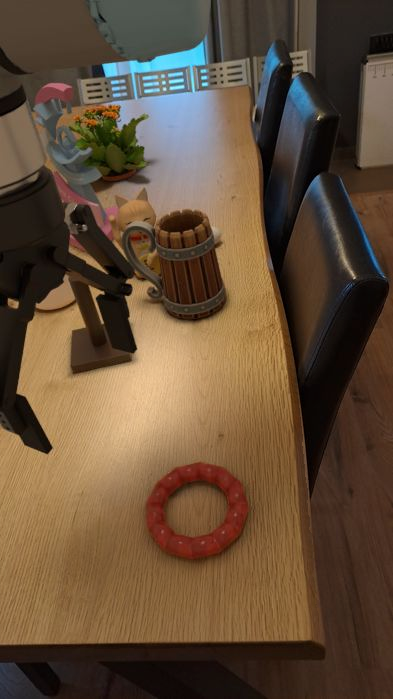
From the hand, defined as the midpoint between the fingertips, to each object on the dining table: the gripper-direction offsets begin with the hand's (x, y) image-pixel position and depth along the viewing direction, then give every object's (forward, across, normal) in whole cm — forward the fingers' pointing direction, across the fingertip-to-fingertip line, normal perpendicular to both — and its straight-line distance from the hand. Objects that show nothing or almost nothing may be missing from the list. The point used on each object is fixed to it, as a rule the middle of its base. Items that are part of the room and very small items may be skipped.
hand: (85, 393), depth 48 cm
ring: (+15, -1, +9) cm, 18 cm away
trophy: (+16, -50, -45) cm, 69 cm away
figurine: (+16, -42, -24) cm, 51 cm away
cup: (+16, -29, -35) cm, 49 cm away
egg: (+16, -53, -16) cm, 58 cm away
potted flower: (+16, -81, -57) cm, 100 cm away
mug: (+16, -35, -12) cm, 40 cm away
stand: (+16, -20, -18) cm, 31 cm away
